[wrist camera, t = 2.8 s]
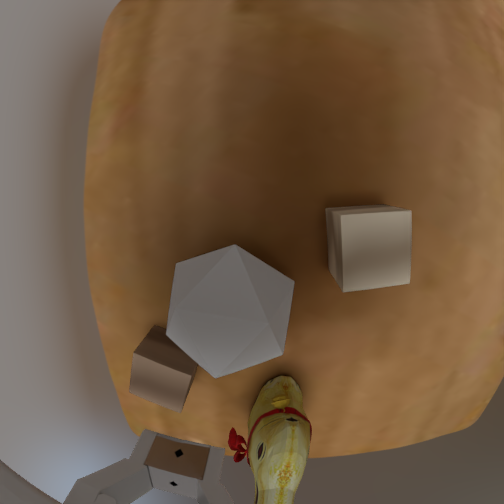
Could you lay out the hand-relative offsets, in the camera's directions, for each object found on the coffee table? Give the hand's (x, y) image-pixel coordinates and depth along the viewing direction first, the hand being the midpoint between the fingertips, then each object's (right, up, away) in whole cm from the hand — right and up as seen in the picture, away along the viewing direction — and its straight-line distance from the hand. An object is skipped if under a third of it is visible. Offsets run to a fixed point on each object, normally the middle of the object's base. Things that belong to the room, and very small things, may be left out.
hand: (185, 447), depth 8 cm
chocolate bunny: (+4, -8, +18) cm, 20 cm away
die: (+1, +4, +15) cm, 16 cm away
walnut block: (-5, -3, +17) cm, 18 cm away
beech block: (+11, +8, +14) cm, 19 cm away
